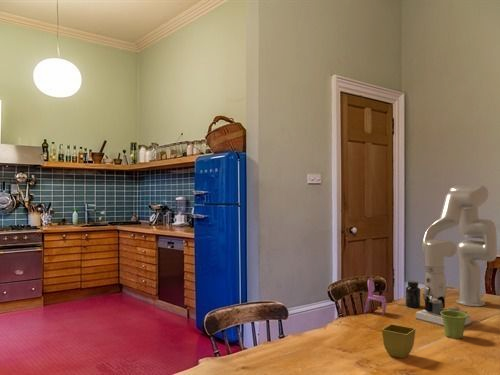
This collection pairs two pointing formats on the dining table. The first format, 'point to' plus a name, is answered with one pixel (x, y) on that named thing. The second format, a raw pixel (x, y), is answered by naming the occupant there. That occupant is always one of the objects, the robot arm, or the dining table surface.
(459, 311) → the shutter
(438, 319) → the socket plate
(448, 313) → the plant pot
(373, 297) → the toy chair
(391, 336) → the flower pot
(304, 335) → the dining table surface
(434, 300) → the plug
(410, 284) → the supplement bottle
